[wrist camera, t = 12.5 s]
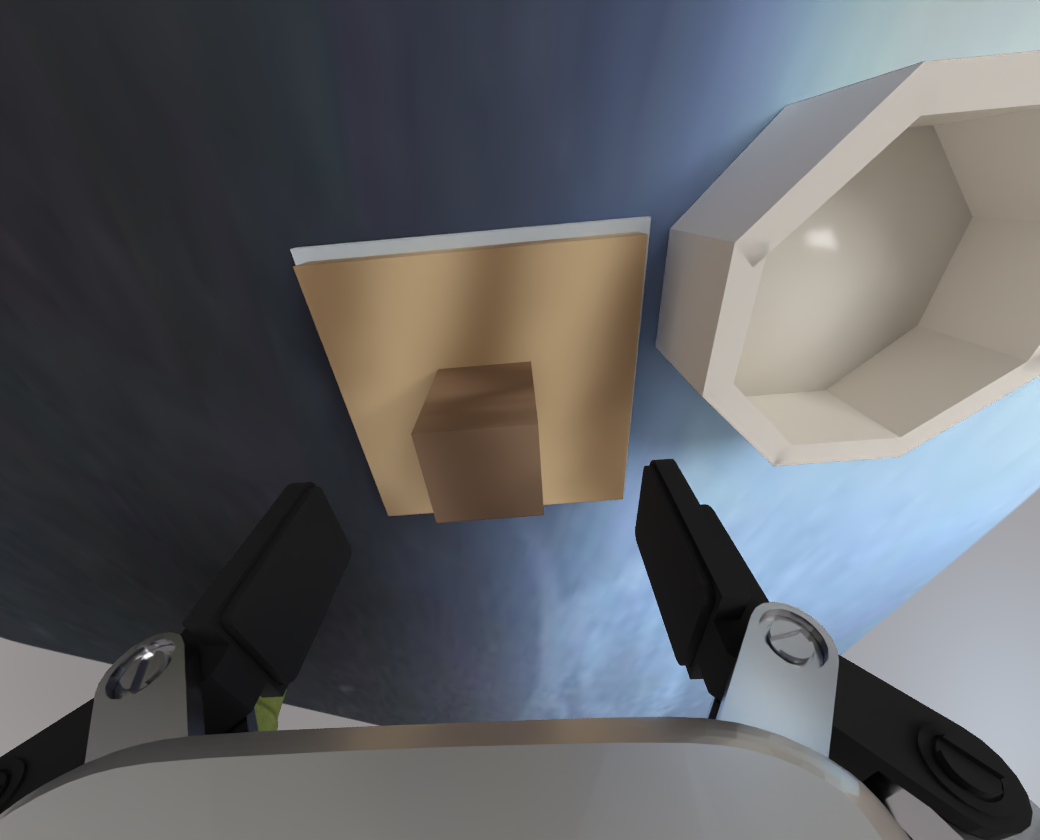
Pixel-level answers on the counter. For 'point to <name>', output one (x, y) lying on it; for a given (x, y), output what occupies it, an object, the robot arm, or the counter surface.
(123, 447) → the counter surface
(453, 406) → the lid
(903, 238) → the bowl
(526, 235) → the mat
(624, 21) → the counter surface
